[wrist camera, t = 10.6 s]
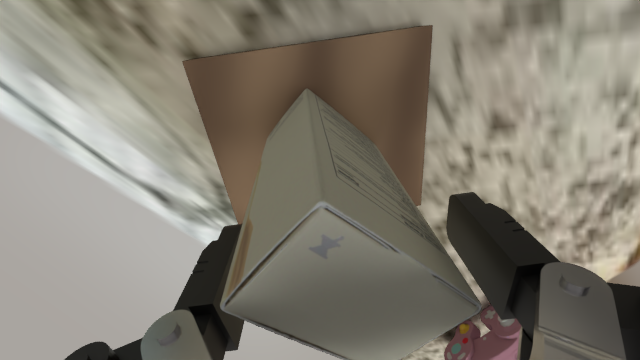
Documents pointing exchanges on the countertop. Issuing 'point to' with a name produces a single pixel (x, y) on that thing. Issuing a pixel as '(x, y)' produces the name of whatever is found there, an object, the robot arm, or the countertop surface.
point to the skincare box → (340, 247)
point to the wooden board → (328, 84)
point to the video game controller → (485, 339)
